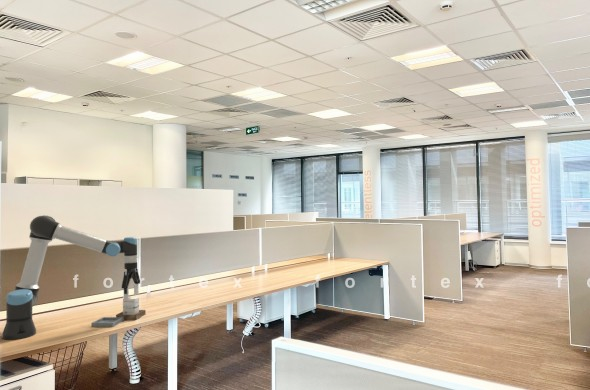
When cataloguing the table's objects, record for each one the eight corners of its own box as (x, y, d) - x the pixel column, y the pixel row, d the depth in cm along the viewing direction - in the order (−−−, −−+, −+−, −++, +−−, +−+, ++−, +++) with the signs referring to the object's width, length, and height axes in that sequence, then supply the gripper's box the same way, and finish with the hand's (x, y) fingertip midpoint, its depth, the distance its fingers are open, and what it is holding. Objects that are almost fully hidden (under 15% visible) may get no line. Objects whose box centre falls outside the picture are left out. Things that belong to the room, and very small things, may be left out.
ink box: (139, 316, 261) (139, 297, 262) (134, 318, 256) (134, 299, 257) (127, 315, 263) (127, 296, 264) (122, 317, 259) (122, 298, 259)
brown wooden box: (115, 319, 254) (115, 314, 254) (125, 314, 267) (125, 309, 267) (136, 319, 253) (136, 314, 253) (145, 314, 266) (145, 309, 266)
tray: (91, 326, 240) (91, 322, 240) (103, 320, 253) (103, 317, 253) (113, 326, 239) (113, 322, 239) (123, 320, 252) (123, 317, 252)
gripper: (127, 264, 248) (127, 301, 248) (145, 259, 273) (145, 292, 273) (115, 265, 249) (115, 301, 248) (134, 259, 274) (134, 292, 273)
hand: (131, 296), depth 260 cm, fingers open, 13 cm apart
